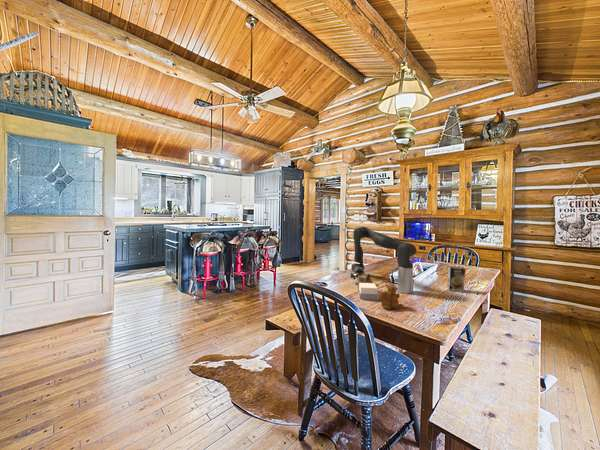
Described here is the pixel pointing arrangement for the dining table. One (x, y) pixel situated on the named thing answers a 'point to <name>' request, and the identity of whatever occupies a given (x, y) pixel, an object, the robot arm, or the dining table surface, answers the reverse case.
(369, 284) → the tower top
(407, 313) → the dining table surface
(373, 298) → the tower bottom
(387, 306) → the brown fuzzy figure
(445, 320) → the dining table surface
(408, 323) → the dining table surface
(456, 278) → the coffee box
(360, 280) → the walnut block
